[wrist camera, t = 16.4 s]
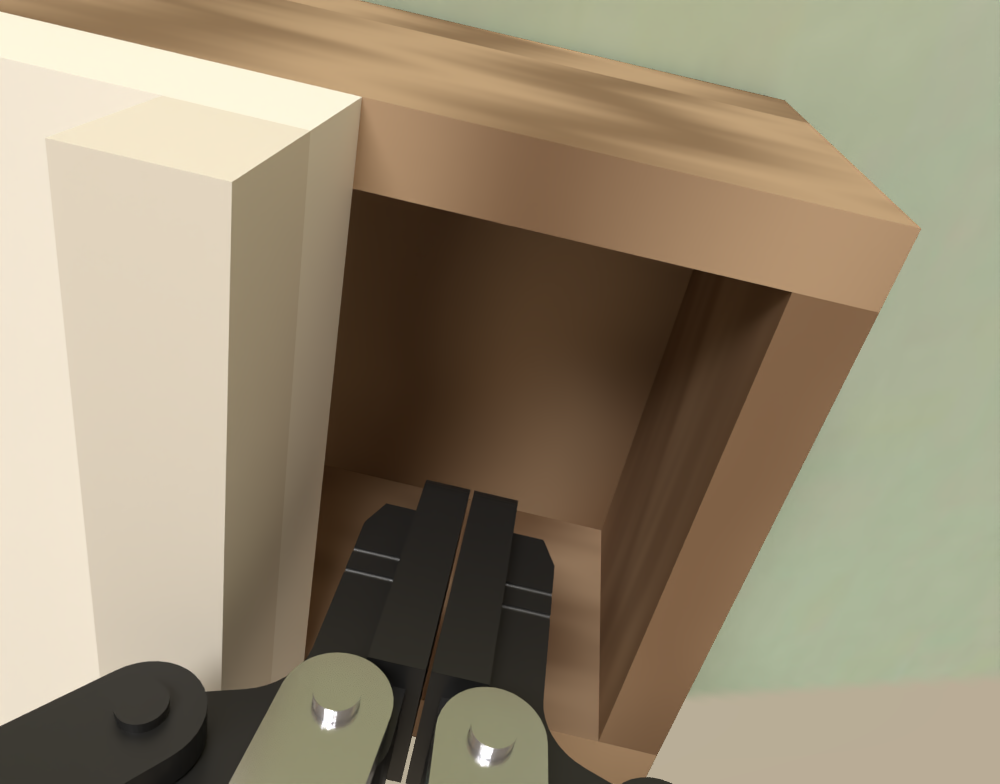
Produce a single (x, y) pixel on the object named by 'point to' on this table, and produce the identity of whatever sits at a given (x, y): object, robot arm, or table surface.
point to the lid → (161, 358)
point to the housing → (568, 319)
